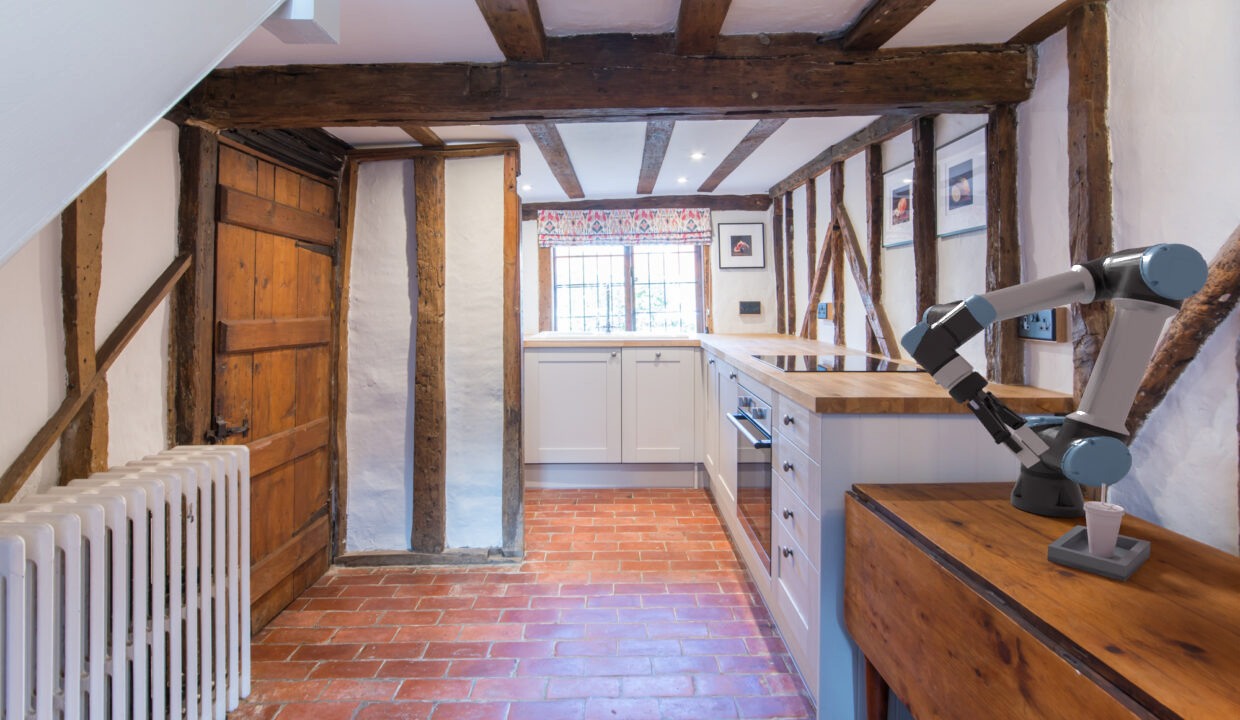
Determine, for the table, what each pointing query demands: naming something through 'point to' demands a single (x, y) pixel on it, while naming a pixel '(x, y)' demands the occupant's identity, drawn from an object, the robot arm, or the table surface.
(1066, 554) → the tray
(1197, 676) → the table surface
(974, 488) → the table surface
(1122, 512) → the smoothie
